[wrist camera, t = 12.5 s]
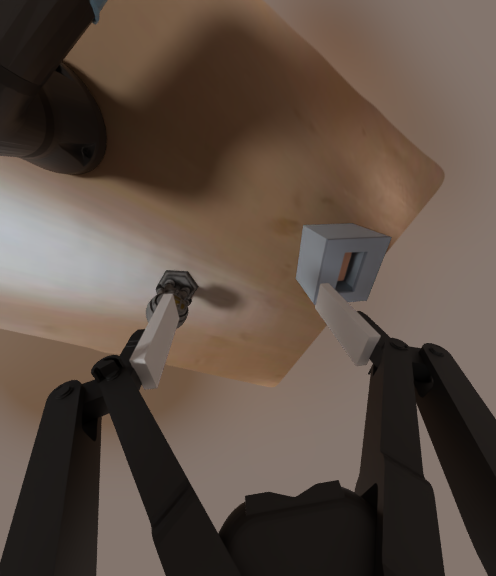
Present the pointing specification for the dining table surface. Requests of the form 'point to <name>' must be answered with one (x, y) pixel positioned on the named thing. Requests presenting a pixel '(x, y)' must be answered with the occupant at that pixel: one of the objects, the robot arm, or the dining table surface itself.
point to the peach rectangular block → (344, 266)
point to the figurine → (174, 293)
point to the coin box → (340, 259)
